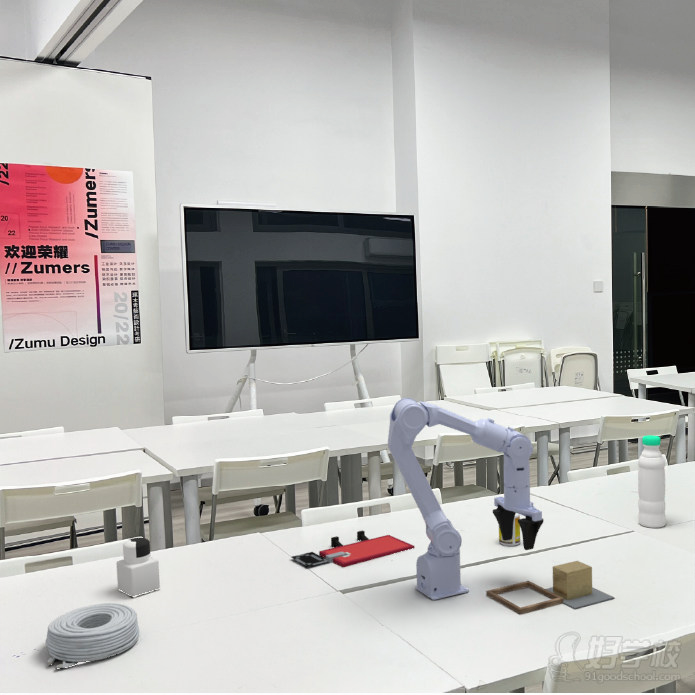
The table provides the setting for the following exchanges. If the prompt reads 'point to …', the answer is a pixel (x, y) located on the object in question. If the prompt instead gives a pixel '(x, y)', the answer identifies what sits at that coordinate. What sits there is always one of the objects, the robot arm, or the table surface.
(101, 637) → the cable
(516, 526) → the supplement bottle
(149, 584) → the medicine bottle
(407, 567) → the table surface
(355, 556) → the red board with handle
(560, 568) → the tan box
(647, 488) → the water bottle
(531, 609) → the wooden frame
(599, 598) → the mat
